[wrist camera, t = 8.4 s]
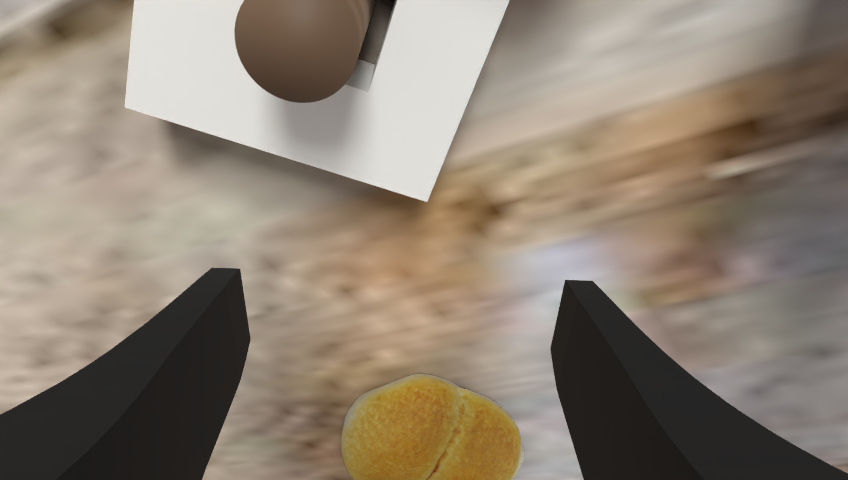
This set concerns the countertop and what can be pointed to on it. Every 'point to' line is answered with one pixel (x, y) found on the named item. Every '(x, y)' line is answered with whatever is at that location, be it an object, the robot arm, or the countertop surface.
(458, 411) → the bread roll
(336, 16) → the peg
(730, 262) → the countertop surface
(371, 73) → the socket block
